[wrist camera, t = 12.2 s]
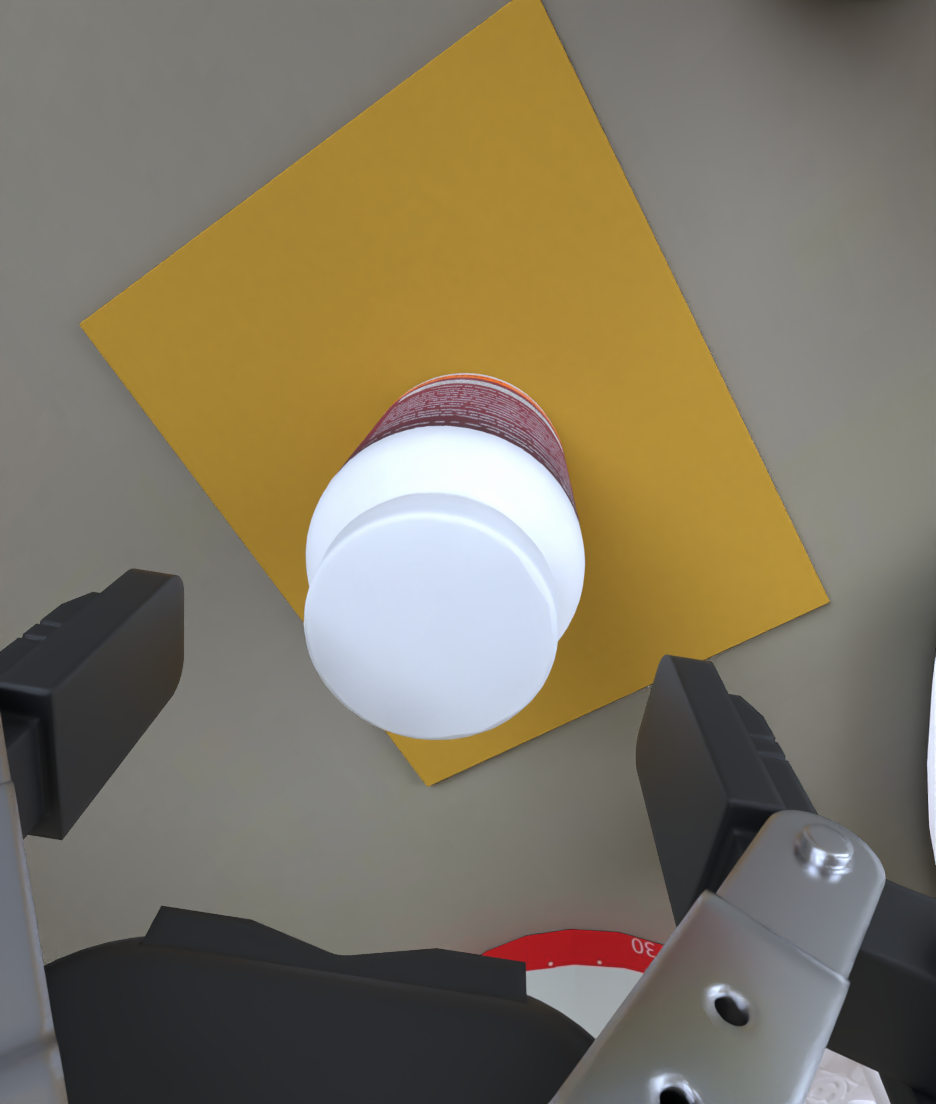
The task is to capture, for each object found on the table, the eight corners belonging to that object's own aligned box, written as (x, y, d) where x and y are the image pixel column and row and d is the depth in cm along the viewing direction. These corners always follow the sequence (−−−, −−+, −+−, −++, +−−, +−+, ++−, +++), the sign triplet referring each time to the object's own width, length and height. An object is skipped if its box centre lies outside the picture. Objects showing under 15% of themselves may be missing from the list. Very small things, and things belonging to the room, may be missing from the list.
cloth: (83, 323, 23) (78, 324, 22) (533, -12, 19) (533, -16, 18) (428, 782, 28) (427, 787, 28) (826, 598, 25) (830, 602, 24)
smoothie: (866, 776, 27) (1189, 1252, 14) (766, 890, 29) (964, 1389, 16) (718, 706, 26) (914, 1141, 13) (627, 829, 29) (718, 1300, 16)
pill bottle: (347, 394, 23) (209, 505, 12) (543, 348, 22) (568, 428, 12) (399, 574, 25) (318, 794, 15) (579, 539, 24) (626, 747, 14)
